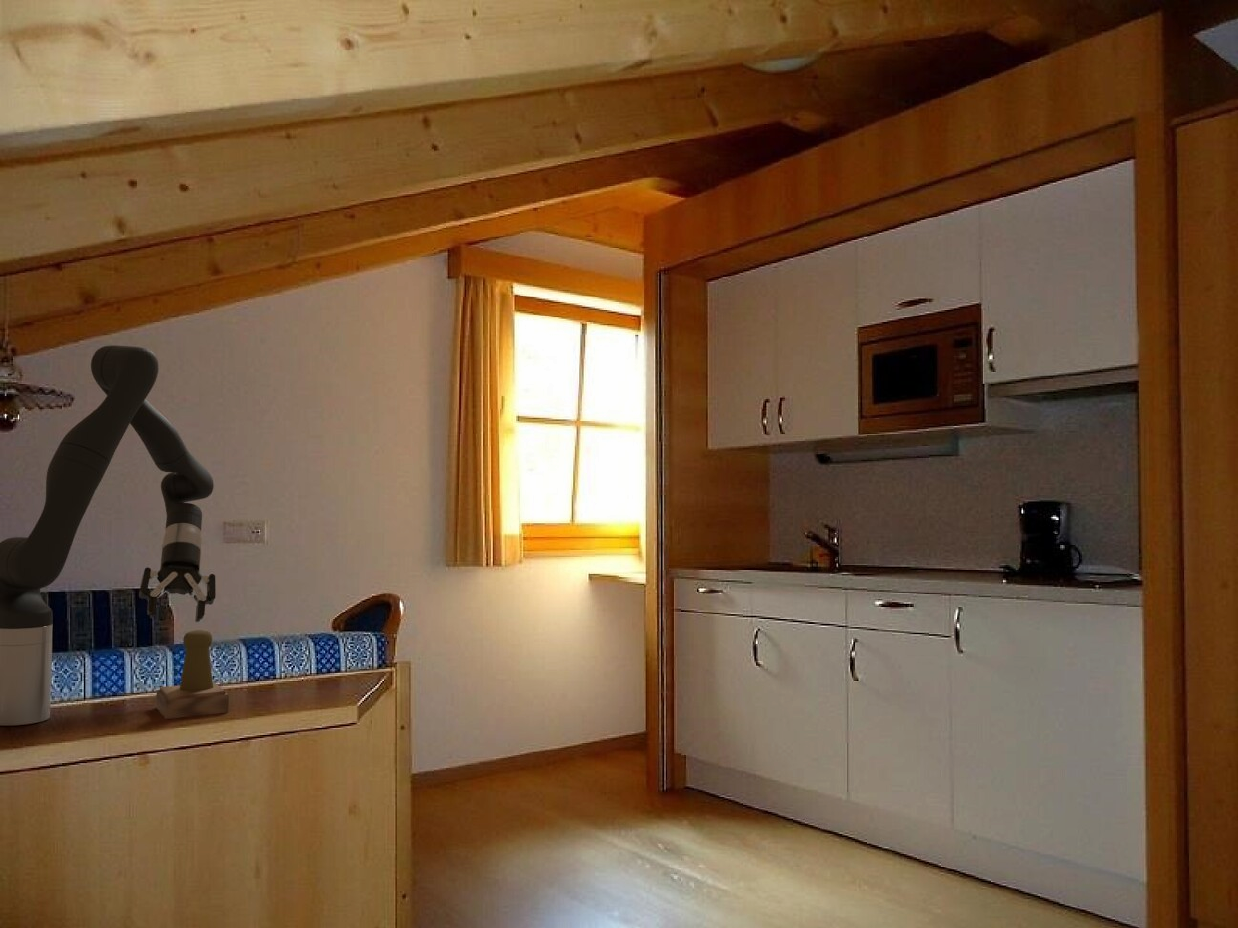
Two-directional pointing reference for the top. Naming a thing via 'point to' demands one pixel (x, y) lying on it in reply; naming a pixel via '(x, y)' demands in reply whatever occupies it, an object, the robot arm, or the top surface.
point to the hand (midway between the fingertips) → (175, 618)
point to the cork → (197, 662)
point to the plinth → (191, 701)
